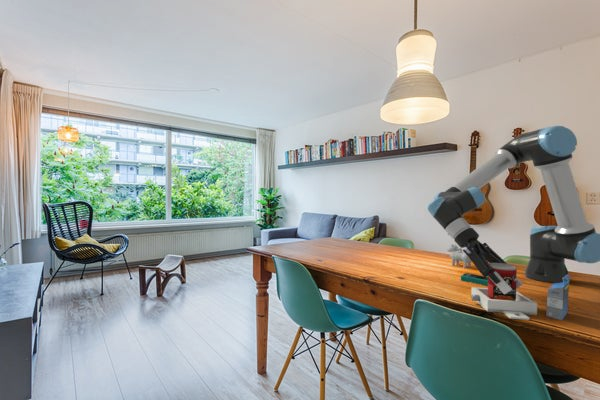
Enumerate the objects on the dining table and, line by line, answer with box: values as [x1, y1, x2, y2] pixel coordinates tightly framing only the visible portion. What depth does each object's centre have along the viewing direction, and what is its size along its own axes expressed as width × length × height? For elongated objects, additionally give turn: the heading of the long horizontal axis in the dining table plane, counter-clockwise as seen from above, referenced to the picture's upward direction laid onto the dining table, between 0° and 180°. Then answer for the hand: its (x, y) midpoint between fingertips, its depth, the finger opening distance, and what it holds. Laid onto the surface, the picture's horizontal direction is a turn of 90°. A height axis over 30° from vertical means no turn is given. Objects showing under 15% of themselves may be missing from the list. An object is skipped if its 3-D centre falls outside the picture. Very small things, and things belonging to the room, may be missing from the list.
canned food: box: [487, 262, 518, 301], centre depth 96 cm, size 8×8×11 cm
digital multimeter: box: [460, 272, 488, 287], centre depth 123 cm, size 7×15×3 cm, turn 40°
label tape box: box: [545, 273, 570, 321], centre depth 89 cm, size 9×4×12 cm, turn 131°
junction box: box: [470, 286, 538, 321], centre depth 96 cm, size 17×22×4 cm
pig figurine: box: [446, 243, 472, 269], centre depth 154 cm, size 5×13×11 cm, turn 28°
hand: (513, 289), depth 94 cm, fingers open, 8 cm apart
